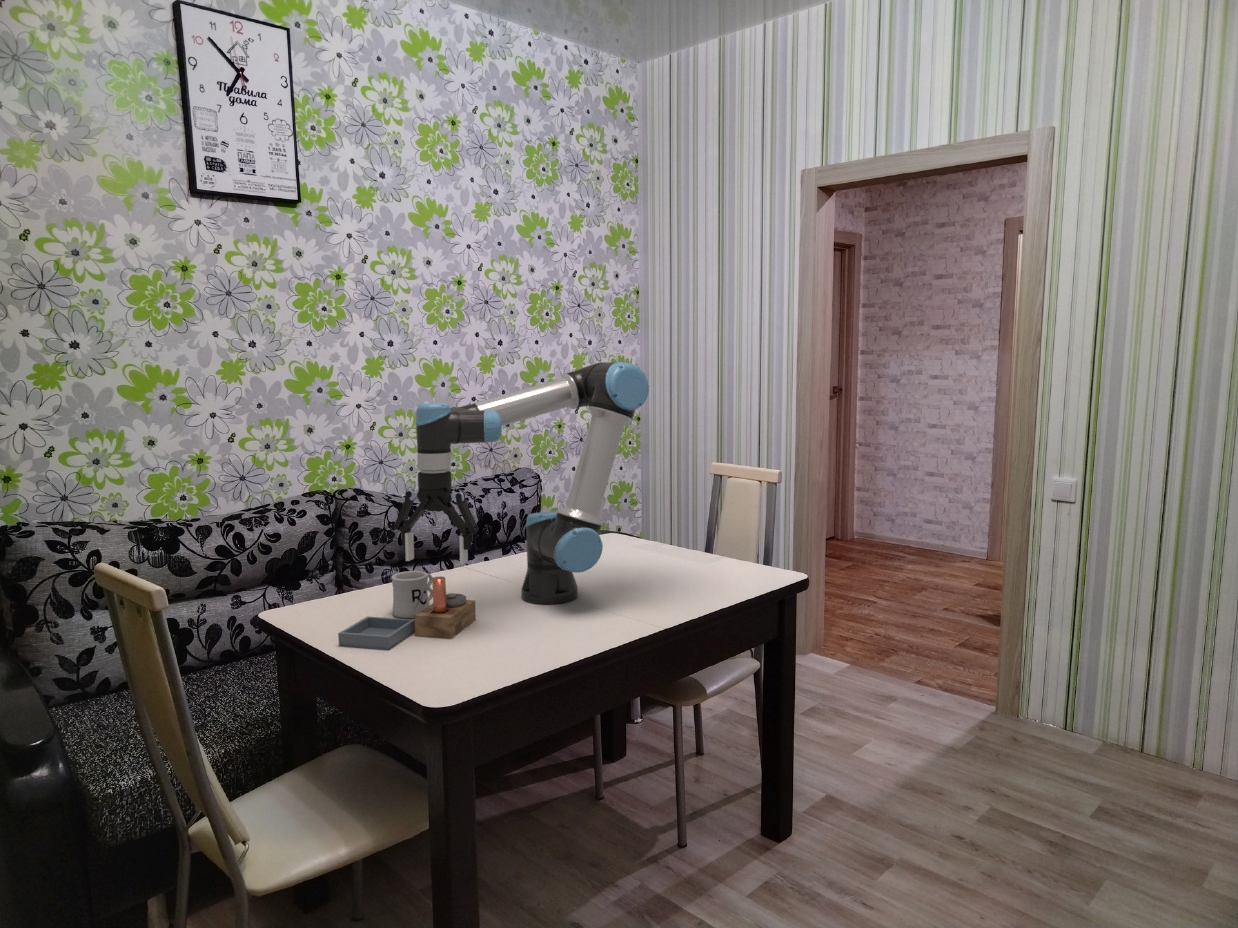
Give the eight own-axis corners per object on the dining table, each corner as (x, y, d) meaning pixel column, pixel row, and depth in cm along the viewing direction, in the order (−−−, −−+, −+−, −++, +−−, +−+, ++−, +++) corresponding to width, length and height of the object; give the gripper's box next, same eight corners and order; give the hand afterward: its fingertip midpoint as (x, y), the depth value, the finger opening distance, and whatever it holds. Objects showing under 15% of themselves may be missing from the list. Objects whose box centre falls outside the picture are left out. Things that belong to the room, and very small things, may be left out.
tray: (415, 631, 194) (415, 619, 194) (389, 650, 182) (388, 637, 182) (368, 628, 197) (367, 616, 197) (338, 646, 185) (338, 633, 185)
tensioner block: (475, 620, 203) (474, 591, 202) (451, 638, 189) (450, 607, 188) (441, 617, 205) (440, 589, 204) (415, 636, 192) (413, 605, 191)
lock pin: (449, 630, 195) (447, 576, 194) (443, 634, 193) (441, 580, 191) (437, 629, 196) (435, 576, 194) (432, 633, 193) (429, 579, 192)
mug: (410, 621, 202) (409, 581, 201) (384, 615, 207) (383, 576, 206) (446, 608, 213) (445, 570, 211) (421, 603, 217) (419, 566, 216)
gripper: (491, 470, 190) (493, 560, 193) (393, 467, 196) (395, 554, 198) (478, 474, 183) (480, 568, 185) (376, 471, 189) (379, 561, 191)
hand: (436, 561), depth 192 cm, fingers open, 13 cm apart
